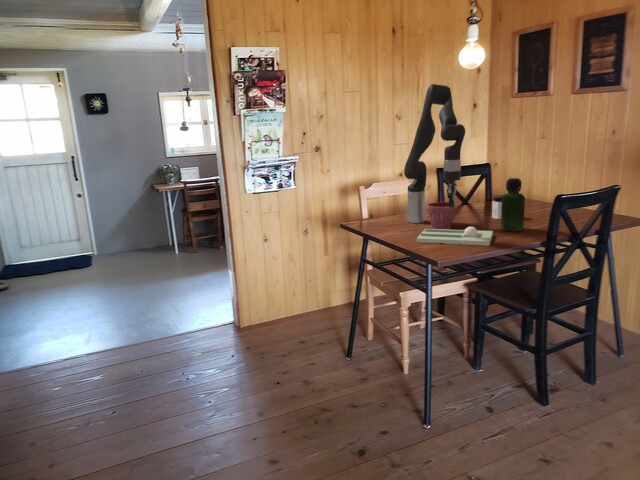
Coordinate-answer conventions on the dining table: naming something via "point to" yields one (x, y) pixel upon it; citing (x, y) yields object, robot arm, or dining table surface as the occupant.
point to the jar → (496, 206)
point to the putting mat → (454, 237)
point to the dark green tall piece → (513, 207)
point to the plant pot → (440, 215)
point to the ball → (470, 232)
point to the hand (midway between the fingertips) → (451, 206)
